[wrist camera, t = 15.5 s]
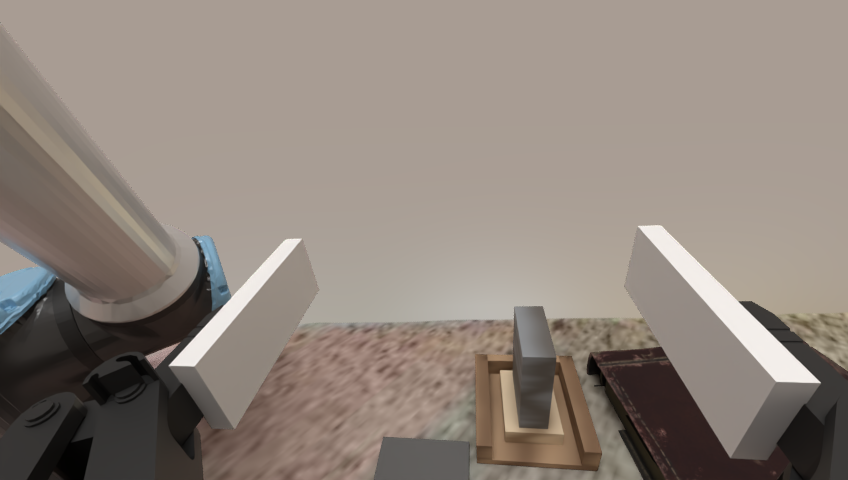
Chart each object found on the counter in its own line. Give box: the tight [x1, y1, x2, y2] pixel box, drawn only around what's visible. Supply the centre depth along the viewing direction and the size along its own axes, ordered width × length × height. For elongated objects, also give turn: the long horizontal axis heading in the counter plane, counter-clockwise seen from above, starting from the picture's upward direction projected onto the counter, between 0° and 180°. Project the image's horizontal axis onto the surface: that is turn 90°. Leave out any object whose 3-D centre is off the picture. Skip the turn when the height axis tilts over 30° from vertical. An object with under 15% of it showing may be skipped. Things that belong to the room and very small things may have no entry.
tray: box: [475, 354, 602, 471], centre depth 41 cm, size 12×12×3 cm
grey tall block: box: [500, 306, 564, 445], centre depth 38 cm, size 6×8×13 cm
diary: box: [587, 341, 848, 480], centre depth 37 cm, size 19×25×5 cm
